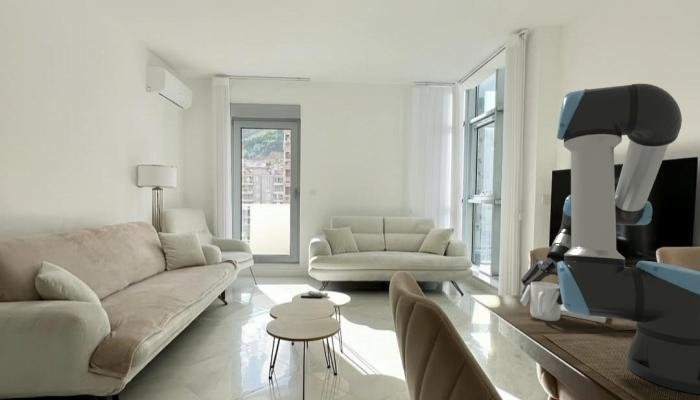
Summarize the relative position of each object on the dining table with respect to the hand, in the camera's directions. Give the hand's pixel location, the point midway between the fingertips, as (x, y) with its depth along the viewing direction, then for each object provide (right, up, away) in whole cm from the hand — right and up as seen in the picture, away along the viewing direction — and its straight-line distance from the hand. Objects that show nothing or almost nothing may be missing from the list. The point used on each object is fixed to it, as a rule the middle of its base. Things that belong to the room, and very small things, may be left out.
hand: (536, 307), depth 107 cm
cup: (+3, -4, +1) cm, 5 cm away
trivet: (+19, -4, +8) cm, 21 cm away
